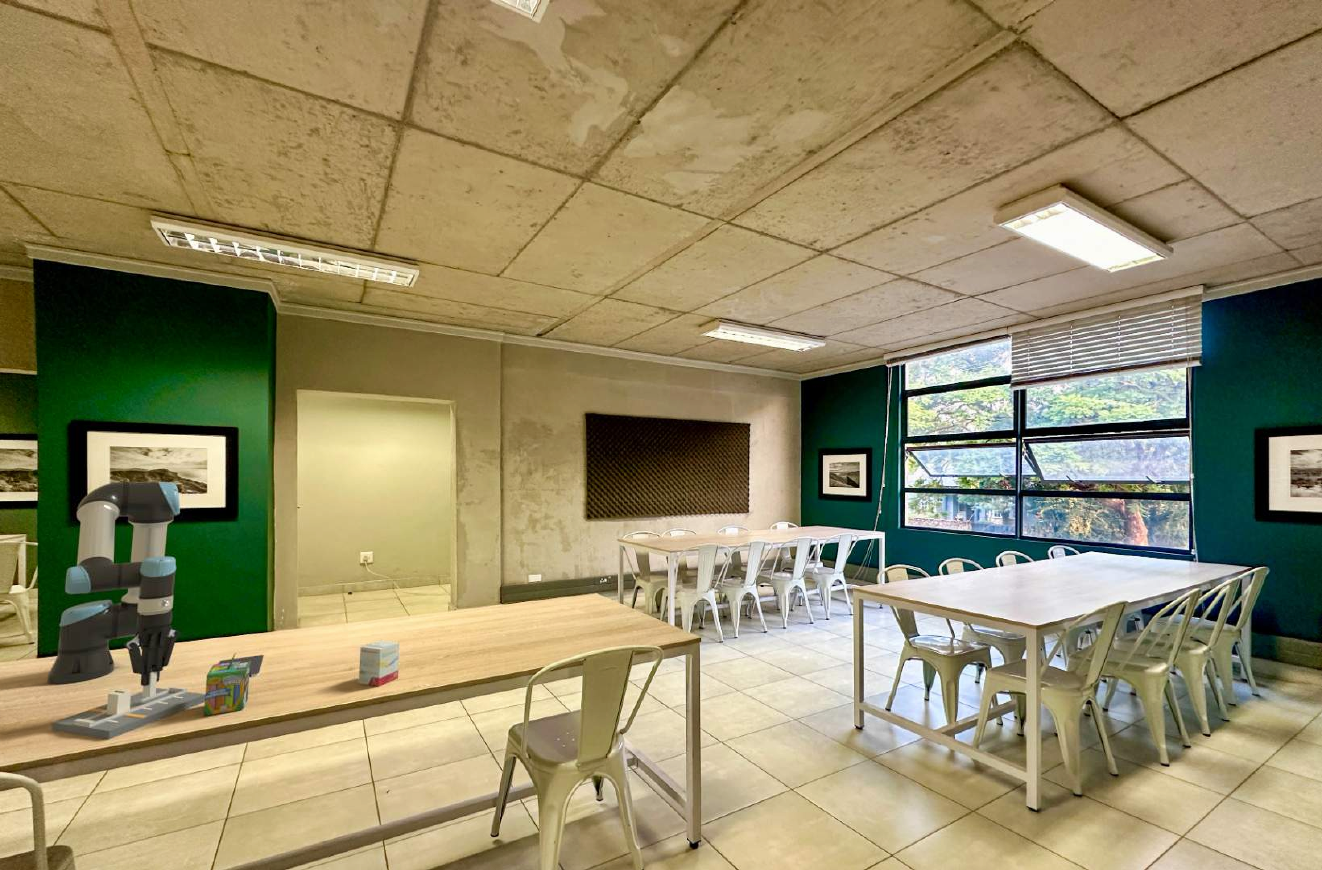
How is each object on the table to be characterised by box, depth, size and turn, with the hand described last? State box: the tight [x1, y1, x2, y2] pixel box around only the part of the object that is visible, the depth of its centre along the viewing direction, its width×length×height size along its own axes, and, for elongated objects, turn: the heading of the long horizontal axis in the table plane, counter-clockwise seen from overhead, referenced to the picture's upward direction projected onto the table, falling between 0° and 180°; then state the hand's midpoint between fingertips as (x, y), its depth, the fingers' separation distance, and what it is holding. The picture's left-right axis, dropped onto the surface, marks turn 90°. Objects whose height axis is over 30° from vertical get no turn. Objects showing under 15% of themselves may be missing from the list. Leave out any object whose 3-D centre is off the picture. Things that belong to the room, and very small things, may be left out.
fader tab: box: [106, 689, 132, 715], centre depth 150 cm, size 4×3×6 cm
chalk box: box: [203, 652, 251, 717], centre depth 159 cm, size 9×9×15 cm
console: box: [51, 686, 206, 740], centre depth 153 cm, size 20×24×3 cm
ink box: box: [358, 639, 400, 687], centre depth 180 cm, size 9×9×12 cm
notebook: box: [218, 654, 265, 678], centre depth 189 cm, size 13×2×21 cm
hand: (149, 695), depth 157 cm, fingers closed
